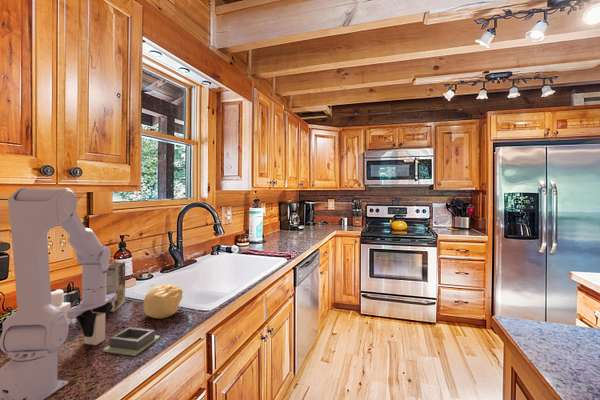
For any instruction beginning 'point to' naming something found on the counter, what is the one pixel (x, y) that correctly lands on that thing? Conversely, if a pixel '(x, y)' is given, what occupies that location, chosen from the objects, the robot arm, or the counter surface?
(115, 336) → the socket board
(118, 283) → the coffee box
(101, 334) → the keyed plug
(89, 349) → the counter surface
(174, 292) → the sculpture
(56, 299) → the white stepped block
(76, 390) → the counter surface
